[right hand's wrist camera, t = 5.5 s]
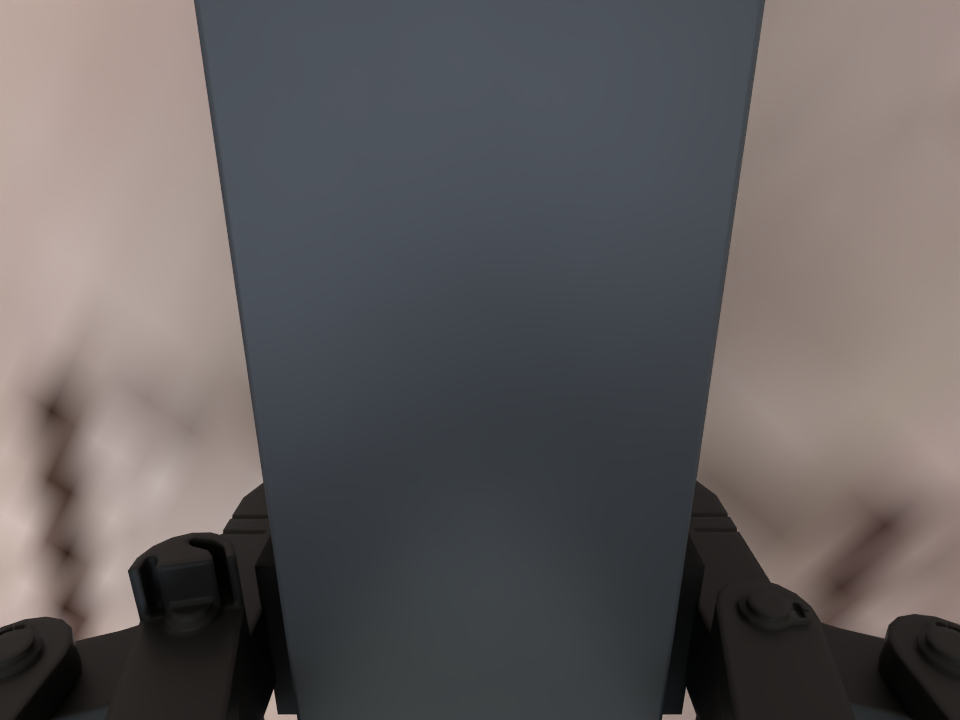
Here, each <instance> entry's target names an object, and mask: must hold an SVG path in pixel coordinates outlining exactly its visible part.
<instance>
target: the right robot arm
mask: <svg viewBox="0 0 960 720" xmlns="http://www.w3.org/2000/svg"><path fill="white" fill-rule="evenodd" d="M128 573H129V577H130V581H131V585H132V589H133V593H134V597H135V601H136V605H137V609H138V613H139V617H140V623H139V625H138V626H135V627H131V628H128V629H125V630H121V631H118V632H113V633H109V634H105V635H100V636H96V637H92V638H88V639H83V640H79V641H75V638H74V634H73V631H72V628H71V627H70V626H69V625H68V624H67V623H66V622H64V621H63V620H62V619H56V618H50V617H40V618H32V619H25V620H22V621H19V622H16V623H13V624H10V625H7V626H4V627H1V628H0V720H264V714H265V711H266V709H267V706H268V703H269V700H270V698H271V695H272V692H273V689H274V692H275V699H276V705H277V711H278V714H297V711H296V705H295V698H294V691H293V684H292V677H291V670H290V663H289V656H288V649H287V642H286V635H285V628H284V621H283V614H282V607H281V600H280V593H279V586H278V580H277V573H276V566H275V559H274V552H273V545H272V538H271V531H270V524H269V517H268V510H267V503H266V496H265V489H264V483H262V484H261V485H260V486H258V487H257V488H256V489H254V490H253V491H252V492H250V493H249V494H248V495H246V496H245V497H244V498H243V499H242V501H241V502H240V504H239V506H238V507H237V509H236V511H235V512H234V514H233V515H232V519H230V520H229V522H228V523H227V525H226V527H225V528H224V530H223V534H221V535H218V534H214V533H190V534H186V535H181V536H177V537H173V538H170V539H168V540H166V541H164V542H161V543H159V544H157V545H155V546H153V547H151V548H150V549H149V550H147V551H146V552H145V553H143V554H142V555H140V556H139V557H138V558H137V559H136V560H135V562H134V563H133V565H132V566H131V567H130V569H129V570H128ZM686 687H687V690H688V693H689V696H690V698H691V701H692V704H693V707H694V709H695V712H696V720H960V625H959V624H956V623H953V622H950V621H947V620H944V619H941V618H938V617H934V616H926V615H918V614H912V615H906V616H901V617H897V618H896V619H895V620H894V621H893V622H892V623H891V624H889V626H888V629H887V633H886V636H885V639H883V638H879V637H875V636H870V635H866V634H862V633H857V632H853V631H849V630H845V629H840V628H837V627H834V626H830V625H827V624H824V623H821V622H820V620H819V618H818V617H817V615H816V613H815V612H814V610H813V609H812V607H811V606H810V605H809V604H808V603H806V602H805V601H804V600H803V599H802V598H800V597H799V596H798V595H797V594H795V593H793V592H791V591H789V590H787V589H786V588H784V587H782V586H780V585H777V584H774V583H771V582H770V581H769V579H768V577H767V576H766V574H765V573H764V571H763V569H762V568H761V566H760V565H759V563H758V561H757V560H756V558H755V557H754V555H753V553H752V552H751V550H750V549H749V547H748V545H747V544H746V542H745V541H744V539H743V537H742V536H741V534H740V533H739V532H737V528H736V526H735V525H734V523H733V521H732V520H731V518H730V517H728V515H727V512H726V510H725V509H724V507H723V505H722V504H721V502H720V501H719V499H718V497H717V496H716V495H715V494H714V493H712V492H711V491H710V490H708V489H707V488H706V487H704V486H703V485H701V484H700V483H699V482H697V481H696V484H695V491H694V498H693V505H692V512H691V519H690V526H689V533H688V540H687V547H686V554H685V561H684V568H683V575H682V582H681V589H680V596H679V603H678V610H677V617H676V624H675V631H674V638H673V645H672V652H671V659H670V665H669V672H668V679H667V686H666V693H665V700H664V707H663V714H682V709H683V702H684V696H685V690H686Z"/></svg>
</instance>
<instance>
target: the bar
mask: <svg viewBox="0 0 960 720" xmlns="http://www.w3.org/2000/svg"><path fill="white" fill-rule="evenodd" d="M194 3H195V10H196V17H197V24H198V31H199V38H200V45H201V52H202V59H203V66H204V73H205V80H206V87H207V93H208V100H209V107H210V114H211V121H212V128H213V135H214V142H215V149H216V156H217V163H218V170H219V177H220V184H221V191H222V198H223V205H224V212H225V218H226V225H227V232H228V239H229V246H230V253H231V260H232V267H233V274H234V281H235V288H236V295H237V302H238V309H239V316H240V323H241V330H242V336H243V343H244V350H245V357H246V364H247V371H248V378H249V385H250V392H251V399H252V406H253V413H254V420H255V427H256V434H257V441H258V448H259V455H260V461H261V468H262V475H263V482H264V489H265V496H266V503H267V510H268V517H269V524H270V531H271V538H272V545H273V552H274V559H275V566H276V573H277V580H278V586H279V593H280V600H281V607H282V614H283V621H284V628H285V635H286V642H287V649H288V656H289V663H290V670H291V677H292V684H293V691H294V698H295V705H296V711H297V718H298V720H662V714H663V707H664V700H665V693H666V686H667V679H668V672H669V665H670V659H671V652H672V645H673V638H674V631H675V624H676V617H677V610H678V603H679V596H680V589H681V582H682V575H683V568H684V561H685V554H686V547H687V540H688V533H689V526H690V519H691V512H692V505H693V498H694V491H695V484H696V477H697V471H698V464H699V457H700V450H701V443H702V436H703V429H704V422H705V415H706V408H707V401H708V394H709V387H710V380H711V373H712V366H713V359H714V352H715V345H716V338H717V331H718V324H719V317H720V310H721V303H722V296H723V289H724V282H725V276H726V269H727V262H728V255H729V248H730V241H731V234H732V227H733V220H734V213H735V206H736V199H737V192H738V185H739V178H740V171H741V164H742V157H743V150H744V143H745V136H746V129H747V122H748V115H749V108H750V101H751V94H752V88H753V81H754V74H755V67H756V60H757V53H758V46H759V39H760V32H761V25H762V18H763V11H764V4H765V0H194Z"/></svg>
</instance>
